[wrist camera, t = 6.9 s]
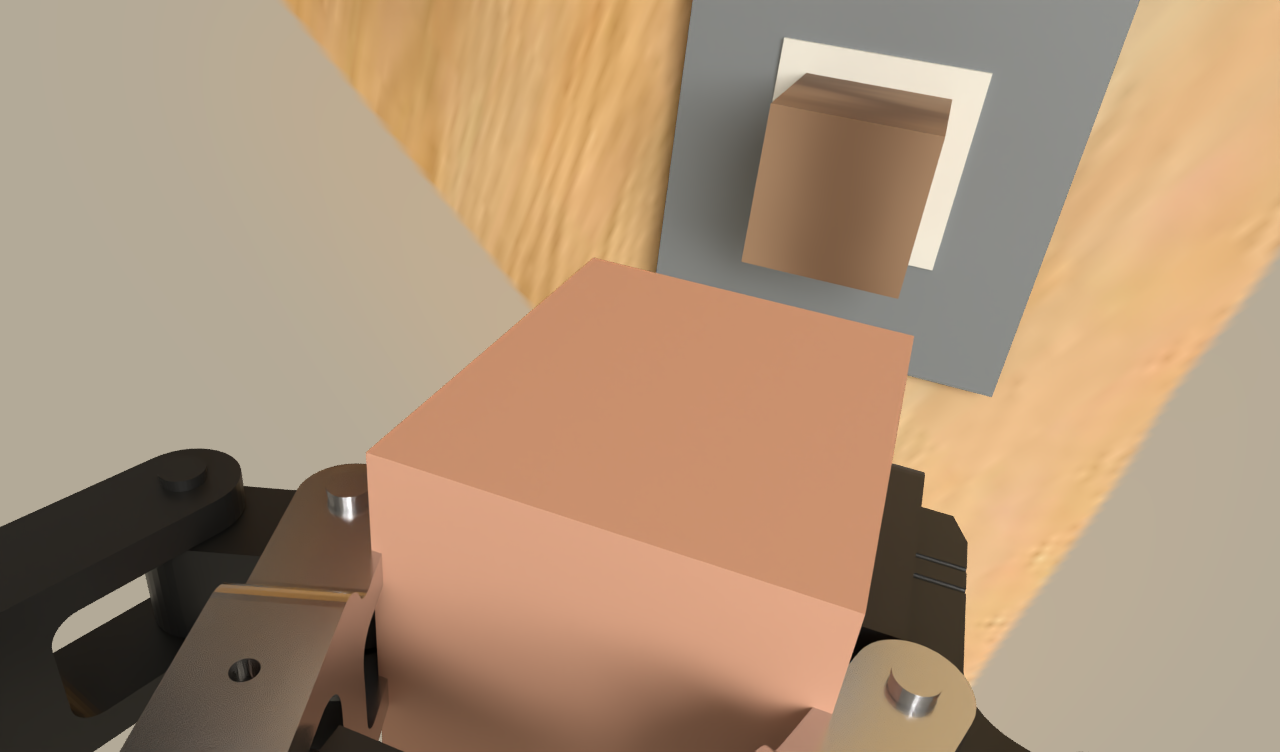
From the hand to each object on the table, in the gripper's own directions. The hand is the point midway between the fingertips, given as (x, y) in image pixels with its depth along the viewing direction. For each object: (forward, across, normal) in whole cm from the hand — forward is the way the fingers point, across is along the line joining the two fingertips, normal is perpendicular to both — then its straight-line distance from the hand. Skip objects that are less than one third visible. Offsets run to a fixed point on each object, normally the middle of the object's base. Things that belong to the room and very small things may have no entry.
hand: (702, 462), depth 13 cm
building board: (+22, 0, 0) cm, 22 cm away
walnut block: (+21, 0, 0) cm, 21 cm away
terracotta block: (+1, 0, 0) cm, 1 cm away
